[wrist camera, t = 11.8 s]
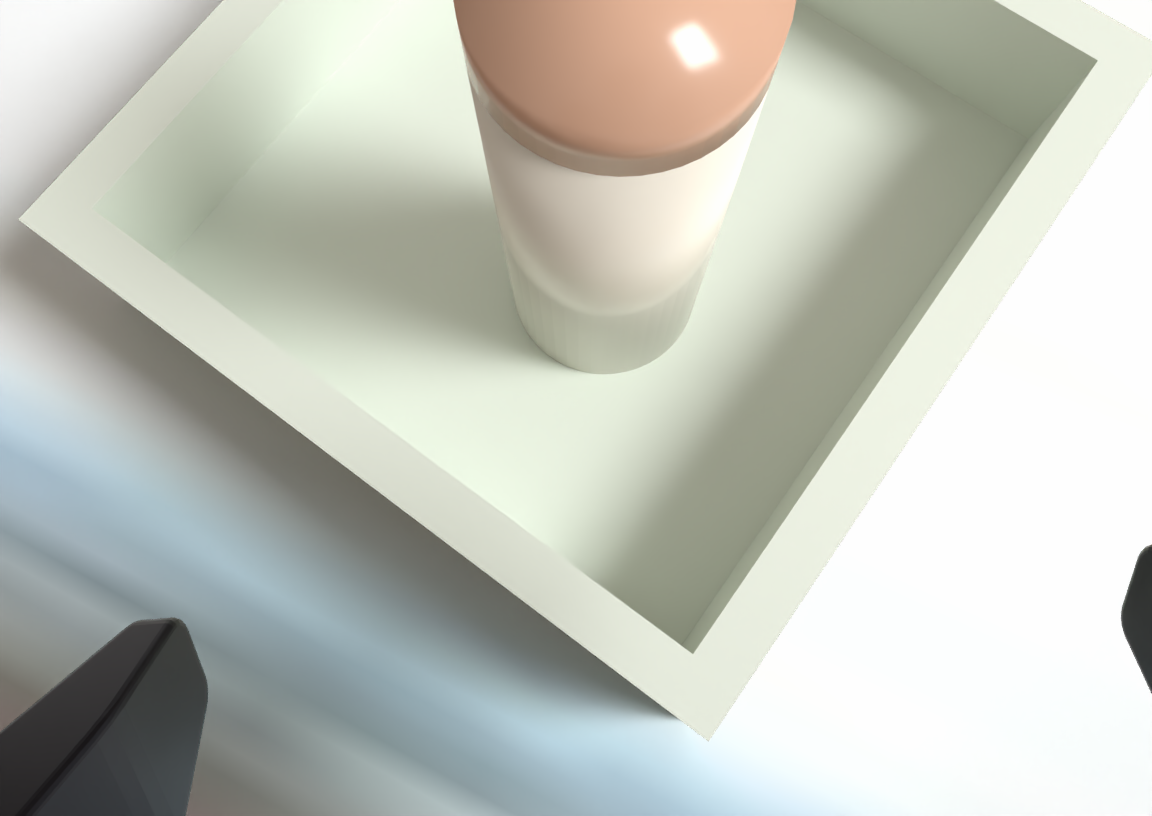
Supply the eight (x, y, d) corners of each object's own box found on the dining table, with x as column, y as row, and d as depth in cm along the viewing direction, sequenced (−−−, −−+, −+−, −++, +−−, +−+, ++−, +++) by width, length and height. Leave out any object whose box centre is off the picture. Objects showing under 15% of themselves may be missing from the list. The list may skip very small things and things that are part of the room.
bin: (685, 720, 19) (708, 741, 15) (120, 293, 22) (18, 219, 18) (1067, 152, 22) (1168, 49, 18) (531, -168, 25) (520, -318, 21)
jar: (551, 400, 20) (522, 183, 10) (487, 238, 21) (405, -104, 11) (723, 335, 20) (854, 64, 11) (653, 178, 21) (714, -206, 11)
